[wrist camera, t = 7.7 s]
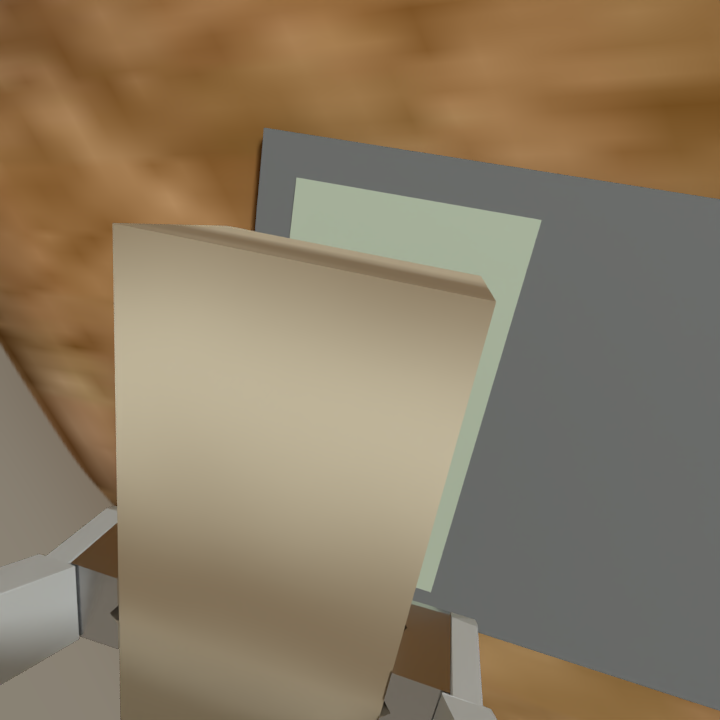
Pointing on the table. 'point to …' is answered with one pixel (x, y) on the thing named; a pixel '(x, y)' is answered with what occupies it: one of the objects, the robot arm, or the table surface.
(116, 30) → the table surface
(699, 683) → the rubber mat
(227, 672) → the beige rectangular block
